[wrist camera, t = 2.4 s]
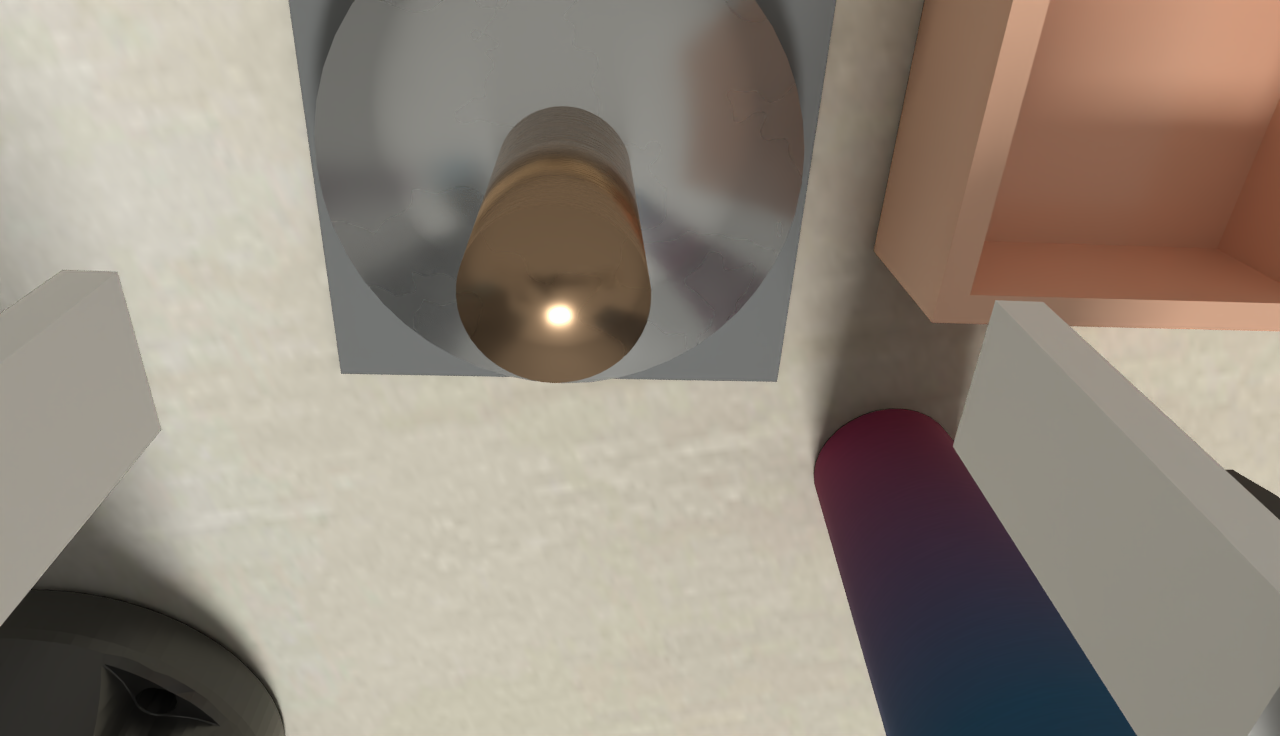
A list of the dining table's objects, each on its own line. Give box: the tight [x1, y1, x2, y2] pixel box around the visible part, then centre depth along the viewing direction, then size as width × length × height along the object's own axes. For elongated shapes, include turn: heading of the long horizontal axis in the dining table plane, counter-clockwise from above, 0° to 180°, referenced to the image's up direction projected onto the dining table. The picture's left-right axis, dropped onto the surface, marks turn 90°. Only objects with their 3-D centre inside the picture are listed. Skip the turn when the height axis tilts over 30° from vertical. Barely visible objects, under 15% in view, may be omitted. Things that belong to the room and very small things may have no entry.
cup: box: [814, 409, 1137, 736], centre depth 23 cm, size 7×7×15 cm
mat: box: [289, 0, 836, 382], centre depth 24 cm, size 14×14×1 cm
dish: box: [874, 0, 1280, 331], centre depth 21 cm, size 11×11×5 cm
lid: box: [314, 0, 804, 383], centre depth 19 cm, size 13×13×9 cm
